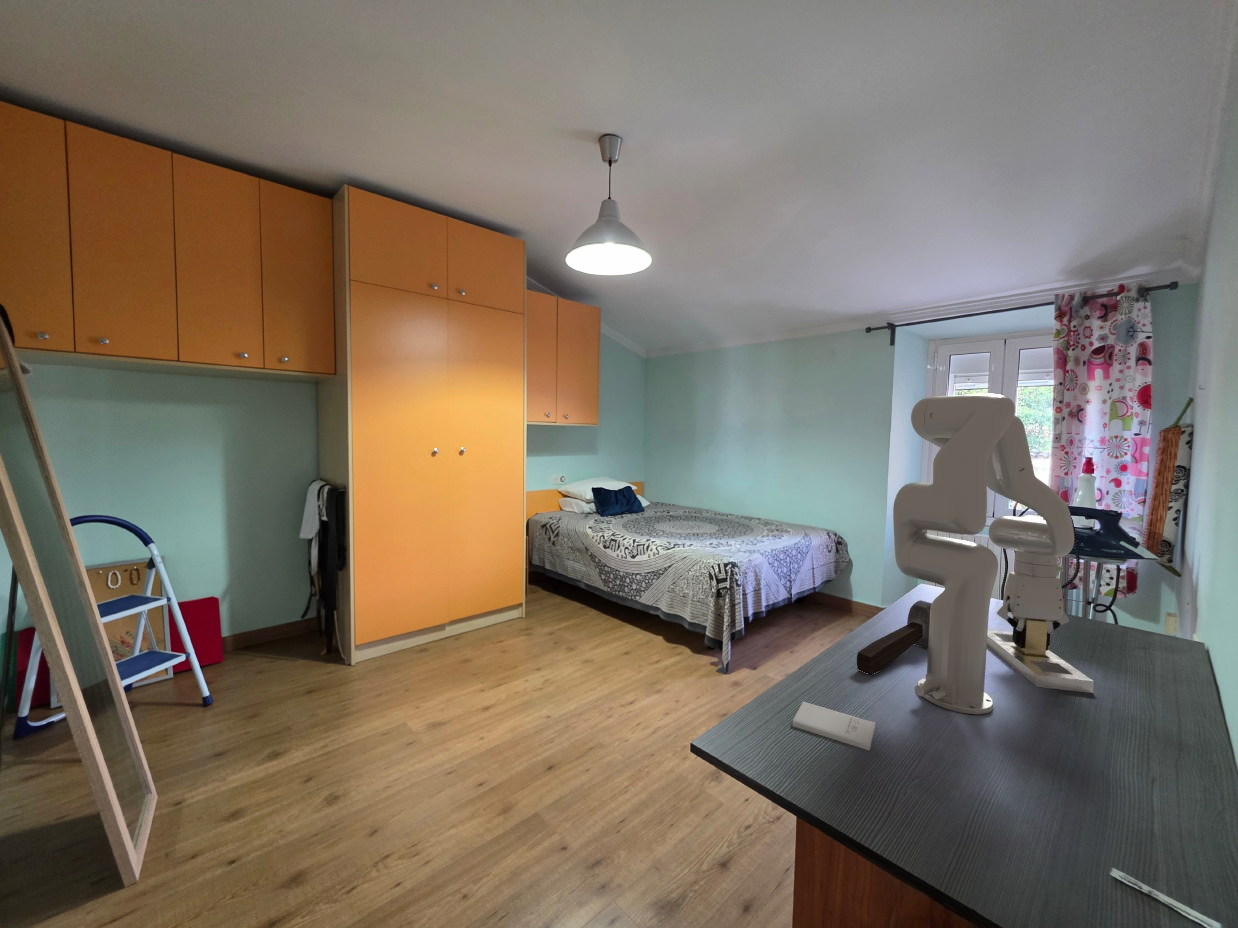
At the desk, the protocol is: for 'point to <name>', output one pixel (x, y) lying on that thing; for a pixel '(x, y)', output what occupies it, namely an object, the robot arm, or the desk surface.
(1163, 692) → the desk surface
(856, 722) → the external hard drive
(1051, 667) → the white flat frame
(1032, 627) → the brass peg
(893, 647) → the hammer
